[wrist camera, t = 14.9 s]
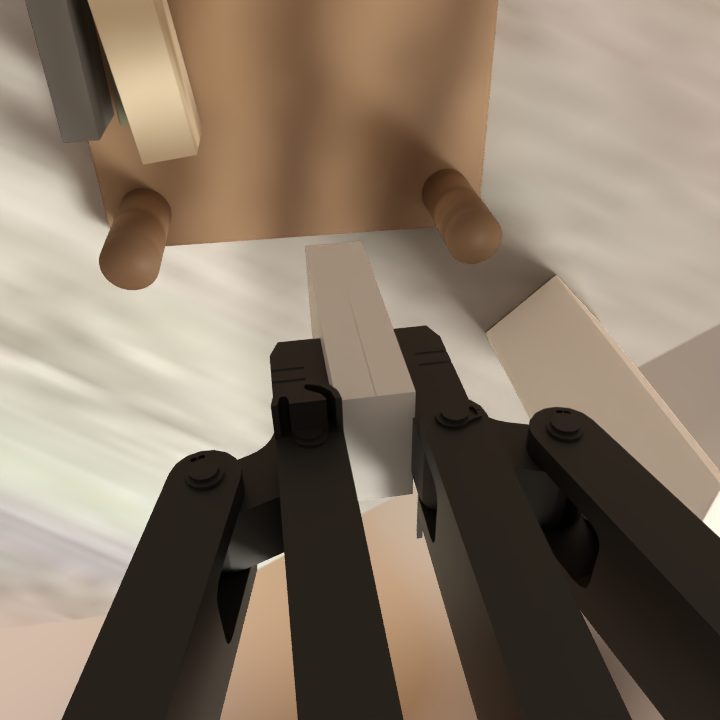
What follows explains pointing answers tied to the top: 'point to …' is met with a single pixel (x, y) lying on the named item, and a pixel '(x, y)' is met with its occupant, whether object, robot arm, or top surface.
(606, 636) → the robot arm
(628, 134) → the top surface
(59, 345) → the top surface
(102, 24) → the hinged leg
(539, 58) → the top surface
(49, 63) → the wooden peg board
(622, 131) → the top surface
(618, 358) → the milk
